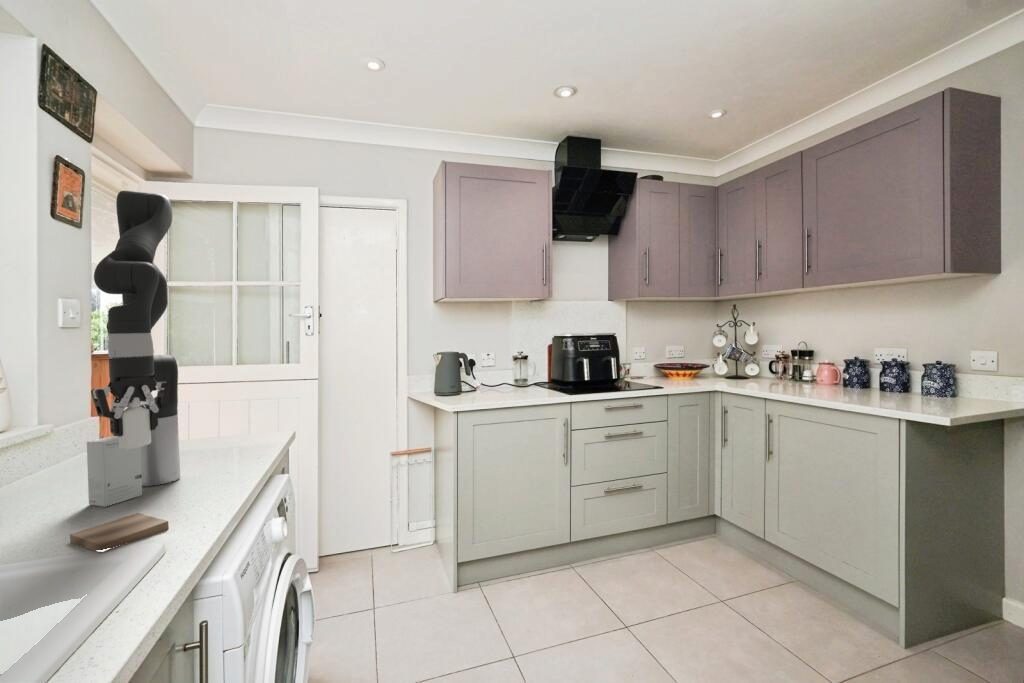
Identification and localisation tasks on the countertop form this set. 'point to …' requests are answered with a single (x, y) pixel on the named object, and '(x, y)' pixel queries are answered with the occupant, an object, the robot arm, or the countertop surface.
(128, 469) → the skincare box
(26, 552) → the countertop surface
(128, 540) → the walnut board
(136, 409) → the eye dropper bottle
